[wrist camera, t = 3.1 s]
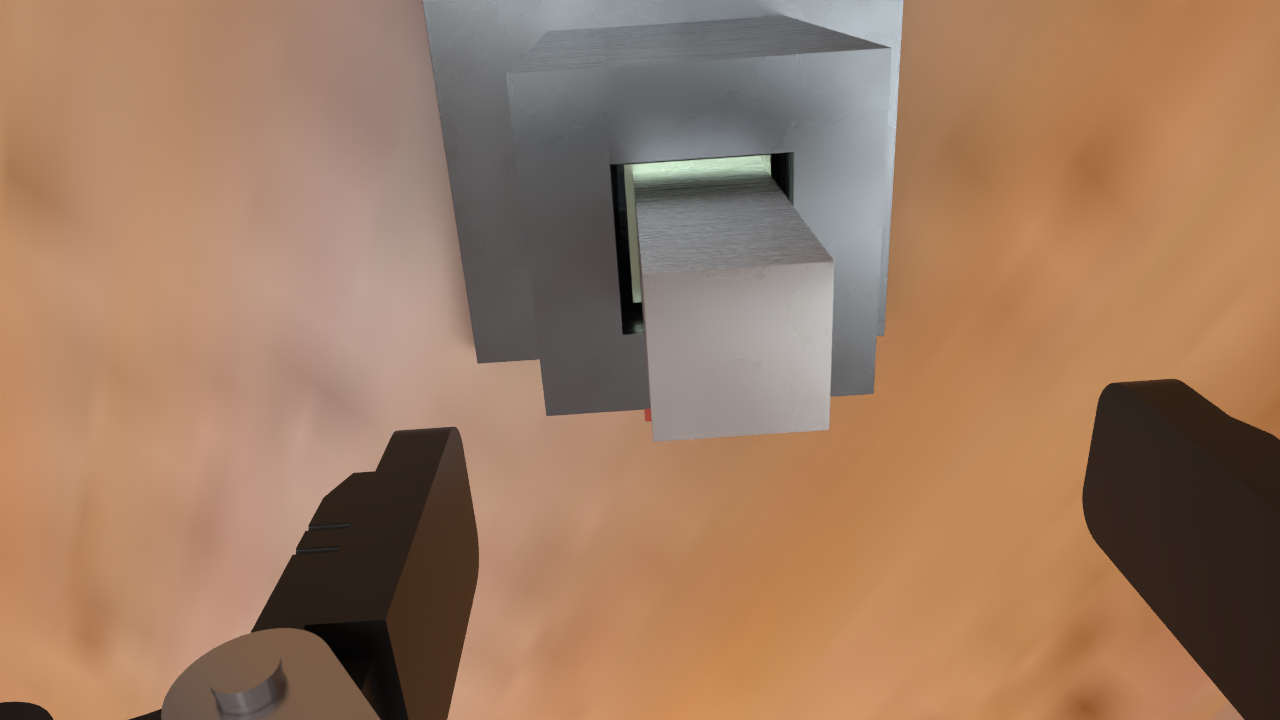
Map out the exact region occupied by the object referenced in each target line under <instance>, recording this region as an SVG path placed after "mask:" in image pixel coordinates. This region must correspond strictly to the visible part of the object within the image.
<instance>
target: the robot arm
mask: <svg viewBox="0 0 1280 720" xmlns="http://www.w3.org/2000/svg"><path fill="white" fill-rule="evenodd" d="M1082 501H1083V511H1084V516H1085V520H1086V523H1087V526H1088V529H1089V531H1090V533H1091V535H1092V537H1093V539H1094V540H1095V542H1096V543H1097V544H1098V545H1099V547H1100V548H1101V549H1102V550H1103V551H1104V552H1105V554H1106V555H1107V556H1108V557H1109V558H1110V560H1111V561H1112V562H1113V563H1114V564H1115V566H1116V567H1117V568H1118V569H1119V570H1120V572H1121V573H1122V574H1123V575H1124V576H1125V578H1126V579H1127V580H1128V581H1129V582H1130V584H1131V585H1132V586H1133V587H1134V588H1135V589H1136V591H1137V592H1138V593H1139V594H1140V595H1141V597H1142V598H1143V599H1144V600H1145V601H1146V603H1147V604H1148V605H1149V606H1150V607H1151V609H1152V610H1153V611H1154V612H1155V613H1156V615H1157V616H1158V617H1159V618H1160V619H1161V620H1162V622H1163V623H1164V624H1165V625H1166V626H1167V628H1168V629H1169V630H1170V631H1171V632H1172V634H1173V635H1174V636H1175V637H1176V638H1177V640H1178V641H1179V642H1180V643H1181V644H1182V646H1183V647H1184V648H1185V649H1186V650H1187V652H1188V653H1189V654H1190V655H1191V656H1192V657H1193V659H1194V660H1195V661H1196V662H1197V663H1198V665H1199V666H1200V667H1201V668H1202V669H1203V671H1204V672H1205V673H1206V674H1207V675H1208V677H1209V678H1210V679H1211V680H1212V681H1213V683H1214V684H1215V685H1216V686H1217V687H1218V688H1219V690H1220V691H1221V692H1222V693H1223V694H1224V696H1225V697H1226V698H1227V699H1228V700H1229V702H1230V703H1231V704H1232V705H1233V706H1234V708H1235V709H1236V710H1237V711H1238V712H1239V714H1240V715H1241V716H1242V717H1243V718H1244V719H1245V720H1280V440H1279V439H1278V438H1276V437H1275V436H1274V435H1272V434H1270V433H1268V432H1265V431H1263V430H1261V429H1258V428H1256V427H1253V426H1251V425H1249V424H1246V423H1244V422H1242V421H1239V420H1237V419H1235V418H1232V417H1230V416H1229V415H1227V414H1226V413H1225V412H1223V411H1222V410H1221V409H1219V408H1218V407H1216V406H1215V405H1214V404H1212V403H1211V402H1210V401H1208V400H1207V399H1205V398H1204V397H1203V396H1201V395H1200V394H1199V393H1197V392H1196V391H1195V390H1193V389H1192V388H1190V387H1189V386H1188V385H1186V384H1185V383H1183V382H1182V381H1180V380H1177V379H1163V380H1148V381H1134V382H1119V383H1112V384H1109V385H1108V386H1106V387H1105V389H1104V390H1103V391H1102V393H1101V395H1100V398H1099V401H1098V405H1097V411H1096V417H1095V423H1094V429H1093V434H1092V440H1091V446H1090V452H1089V458H1088V463H1087V469H1086V475H1085V481H1084V487H1083V496H1082ZM478 569H479V546H478V534H477V528H476V522H475V516H474V510H473V504H472V498H471V492H470V486H469V480H468V474H467V468H466V462H465V456H464V450H463V444H462V440H461V436H460V433H459V431H458V429H457V428H456V427H444V428H429V429H414V430H400V431H395V432H394V433H393V435H392V437H391V439H390V441H389V443H388V445H387V448H386V450H385V452H384V454H383V456H382V458H381V460H380V463H379V465H378V467H377V469H376V471H375V472H361V473H353V474H352V475H350V476H349V477H348V478H347V479H346V480H344V481H343V482H342V483H341V484H340V485H338V486H337V487H336V488H335V489H334V490H332V491H331V492H330V493H329V494H328V495H326V496H325V497H324V498H323V500H322V502H321V503H320V505H319V507H318V509H317V511H316V513H315V514H314V516H313V518H312V520H311V522H310V524H309V531H305V533H304V535H303V537H302V539H301V540H300V542H299V544H298V546H297V548H296V555H292V557H291V559H290V561H289V563H288V564H287V566H286V568H285V570H284V572H283V574H282V576H281V577H280V579H279V581H278V583H277V585H276V587H275V589H274V590H273V592H272V594H271V596H270V598H269V600H268V601H267V603H266V605H265V607H264V609H263V611H262V613H261V614H260V616H259V618H258V620H257V622H256V624H255V626H254V627H253V629H252V631H251V633H249V634H246V635H243V636H240V637H237V638H235V639H233V640H230V641H228V642H226V643H224V644H222V645H220V646H218V647H216V648H214V649H212V650H211V651H209V652H208V653H206V654H205V655H203V656H201V657H200V658H199V659H197V660H196V661H195V662H194V663H192V664H191V665H190V666H189V667H188V668H187V669H186V670H185V671H184V672H183V673H182V674H181V675H180V676H179V677H178V678H177V679H176V681H175V682H174V683H173V685H172V686H171V688H170V689H169V691H168V693H167V695H166V696H165V699H164V702H163V705H162V709H160V710H157V711H154V712H151V713H148V714H145V715H143V716H139V717H136V718H133V719H129V720H447V718H448V713H449V708H450V704H451V699H452V695H453V690H454V686H455V681H456V676H457V672H458V667H459V663H460V658H461V653H462V649H463V644H464V640H465V635H466V630H467V626H468V621H469V617H470V612H471V608H472V603H473V598H474V594H475V589H476V585H477V579H478ZM0 720H53V718H52V716H51V715H50V714H49V713H48V711H47V710H45V709H43V708H42V707H40V706H38V705H35V704H31V703H25V702H3V703H0Z"/></svg>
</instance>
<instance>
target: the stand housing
mask: <svg viewBox="0 0 1280 720" xmlns="http://www.w3.org/2000/svg"><path fill="white" fill-rule="evenodd" d="M423 7H424V14H425V20H426V27H427V33H428V40H429V46H430V53H431V60H432V66H433V73H434V79H435V86H436V92H437V99H438V106H439V112H440V119H441V125H442V132H443V138H444V145H445V152H446V158H447V165H448V171H449V178H450V184H451V191H452V198H453V204H454V211H455V217H456V224H457V230H458V237H459V244H460V250H461V257H462V263H463V270H464V276H465V283H466V290H467V296H468V303H469V309H470V316H471V322H472V329H473V336H474V342H475V349H476V355H477V362H478V363H491V362H506V361H520V360H535V359H540V365H541V373H542V382H543V390H544V398H545V407H546V415H547V416H553V415H568V414H583V413H597V412H612V411H627V410H641V409H645V421H651V409H650V397H649V385H648V373H647V361H646V349H645V337H644V325H643V313H642V302H636V303H633V291H632V276H631V262H630V248H629V233H628V219H627V205H626V190H625V176H624V163H638V162H653V161H668V160H683V159H697V158H712V157H727V156H741V155H756V154H770V155H771V177H772V178H773V180H774V181H775V182H776V184H777V185H778V186H779V188H780V189H781V190H782V192H783V193H784V194H785V196H786V197H787V198H788V200H789V201H790V202H791V204H792V205H793V206H794V208H795V209H796V210H797V212H798V213H799V214H800V216H801V217H802V218H803V220H804V221H805V223H806V224H807V225H808V227H809V228H810V229H811V231H812V232H813V233H814V235H815V236H816V237H817V239H818V240H819V241H820V243H821V244H822V245H823V247H824V248H825V249H826V251H827V252H828V253H829V255H830V256H831V257H832V259H833V260H834V290H833V323H832V355H831V388H830V397H832V396H847V395H862V394H873V393H874V374H875V355H876V337H877V336H884V330H885V313H886V295H887V278H888V260H889V243H890V225H891V208H892V191H893V173H894V156H895V138H896V121H897V103H898V86H899V68H900V51H901V34H902V16H903V0H423Z"/></svg>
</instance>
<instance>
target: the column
mask: <svg viewBox="0 0 1280 720" xmlns="http://www.w3.org/2000/svg"><path fill="white" fill-rule="evenodd" d="M624 176H625V190H626V205H627V219H628V233H629V248H630V262H631V276H632V291H633V303H636V302H642V313H643V325H644V337H645V349H646V361H647V373H648V385H649V397H650V409H651V421H652V432H653V442H657V441H672V440H687V439H701V438H716V437H731V436H745V435H760V434H775V433H789V432H804V431H819V430H829V420H830V388H831V355H832V323H833V290H834V260H833V259H832V257H831V256H830V255H829V253H828V252H827V251H826V249H825V248H824V247H823V245H822V244H821V243H820V241H819V240H818V239H817V237H816V236H815V235H814V233H813V232H812V231H811V229H810V228H809V227H808V225H807V224H806V223H805V221H804V220H803V218H802V217H801V216H800V214H799V213H798V212H797V210H796V209H795V208H794V206H793V205H792V204H791V202H790V201H789V200H788V198H787V197H786V196H785V194H784V193H783V192H782V190H781V189H780V188H779V186H778V185H777V184H776V182H775V181H774V180H773V178H772V177H771V155H770V154H756V155H741V156H727V157H712V158H697V159H683V160H668V161H653V162H638V163H624Z"/></svg>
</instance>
